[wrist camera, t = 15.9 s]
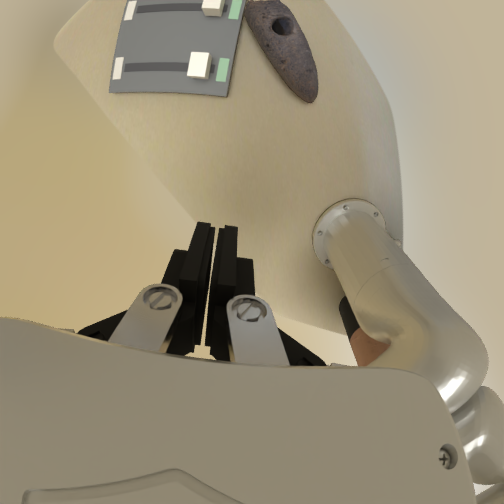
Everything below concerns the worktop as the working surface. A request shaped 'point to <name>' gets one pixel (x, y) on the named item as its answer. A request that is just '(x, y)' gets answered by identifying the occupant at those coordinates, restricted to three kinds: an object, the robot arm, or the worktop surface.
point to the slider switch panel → (174, 46)
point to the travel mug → (360, 337)
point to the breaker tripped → (213, 7)
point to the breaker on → (199, 65)
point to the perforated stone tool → (284, 45)
